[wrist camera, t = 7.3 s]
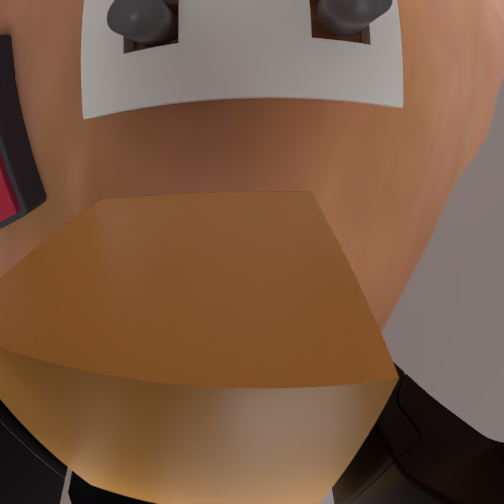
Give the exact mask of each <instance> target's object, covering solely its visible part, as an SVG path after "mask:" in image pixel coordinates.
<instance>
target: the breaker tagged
mask: <svg viewBox="0 0 504 504" xmlns="http://www.w3.org/2000/svg"><path fill="white" fill-rule="evenodd" d="M107 24H108V26H109V28H110V29H111V30H112V31H113V32H115V33H117V34H120V35H122V36H124V37H127V38H129V39H131V40H133V41H136V42H138V43H140V44H142V45H144V46H147V47H150V48H153V47H158V46H163V45H166V44H168V43H169V42H171V41H172V40H173V39H174V38H175V36H176V35H177V33H178V25H179V19H178V17H177V16H176V15H175V14H174V13H173V12H172V11H171V10H170V9H169V8H168V7H167V6H166V5H165V4H164V3H163V2H162V1H161V0H115V1H114V2H113V3H112V4H111V6H110V8H109V10H108V13H107Z"/></svg>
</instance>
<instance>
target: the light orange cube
mask: <svg viewBox="0 0 504 504" xmlns="http://www.w3.org/2000/svg"><path fill="white" fill-rule="evenodd" d="M398 379H399V376H398V374H397V371H396V368H395V366H394V363H393V361H392V358H391V356H390V353H389V351H388V349H387V346H386V344H385V341H384V339H383V337H382V334H381V332H380V330H379V327H378V325H377V323H376V320H375V318H374V316H373V314H372V311H371V309H370V307H369V305H368V302H367V300H366V298H365V296H364V294H363V292H362V289H361V287H360V285H359V283H358V281H357V279H356V277H355V275H354V273H353V271H352V269H351V266H350V264H349V262H348V260H347V258H346V256H345V254H344V252H343V250H342V248H341V246H340V245H339V243H338V241H337V239H336V237H335V235H334V233H333V231H332V229H331V227H330V225H329V223H328V222H327V220H326V218H325V216H324V214H323V212H322V210H321V209H320V207H319V205H318V203H317V201H316V199H315V198H314V196H313V194H312V192H311V191H247V192H209V193H186V194H167V195H151V196H137V197H124V198H112V199H101V200H100V201H98V202H97V203H95V204H94V205H93V206H91V207H90V208H88V209H87V210H85V211H84V212H83V213H81V214H80V215H78V216H77V217H76V218H74V219H73V220H72V221H70V222H69V223H67V224H66V225H65V226H63V227H62V228H61V229H60V230H58V231H57V232H56V233H54V234H53V235H52V236H50V237H49V238H48V239H47V240H45V241H44V242H43V243H42V244H40V245H39V246H38V247H37V248H36V249H34V250H33V251H32V252H31V253H29V254H28V255H27V256H26V257H25V258H24V259H22V260H21V261H20V262H19V263H18V264H17V265H16V266H14V267H13V268H12V269H11V270H10V271H9V272H8V273H7V274H5V275H4V276H3V277H2V278H1V279H0V399H1V401H2V402H3V403H4V404H5V405H6V407H7V408H8V409H9V410H10V411H11V412H12V413H13V415H14V416H15V417H16V418H17V419H18V420H19V421H20V422H21V423H22V424H23V425H24V426H25V428H26V429H27V430H28V431H29V432H30V433H31V434H32V435H33V436H34V437H35V438H36V439H37V440H38V441H39V442H40V443H42V444H43V445H44V446H45V447H46V448H47V449H48V450H49V451H50V452H51V453H52V454H53V455H55V456H56V457H57V458H58V459H59V460H60V461H61V462H63V463H64V464H65V465H66V466H67V467H69V468H70V469H71V470H72V471H74V472H75V473H76V474H77V475H79V476H80V477H81V478H82V479H84V480H85V481H86V482H88V483H89V484H90V485H92V486H95V487H98V488H101V489H104V490H107V491H111V492H114V493H117V494H121V495H124V496H128V497H131V498H135V499H139V500H143V501H148V502H152V503H157V504H319V503H320V502H321V501H322V500H323V499H324V497H325V496H326V495H327V493H328V492H329V491H330V490H331V488H332V487H333V486H334V484H335V483H336V482H337V480H338V479H339V478H340V476H341V475H342V474H343V472H344V471H345V469H346V468H347V466H348V465H349V464H350V462H351V461H352V459H353V458H354V456H355V455H356V453H357V452H358V450H359V449H360V447H361V445H362V444H363V442H364V441H365V439H366V437H367V436H368V434H369V433H370V431H371V429H372V428H373V426H374V424H375V422H376V421H377V419H378V417H379V415H380V414H381V412H382V410H383V408H384V406H385V405H386V403H387V401H388V399H389V397H390V395H391V393H392V391H393V389H394V387H395V385H396V383H397V381H398Z"/></svg>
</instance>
